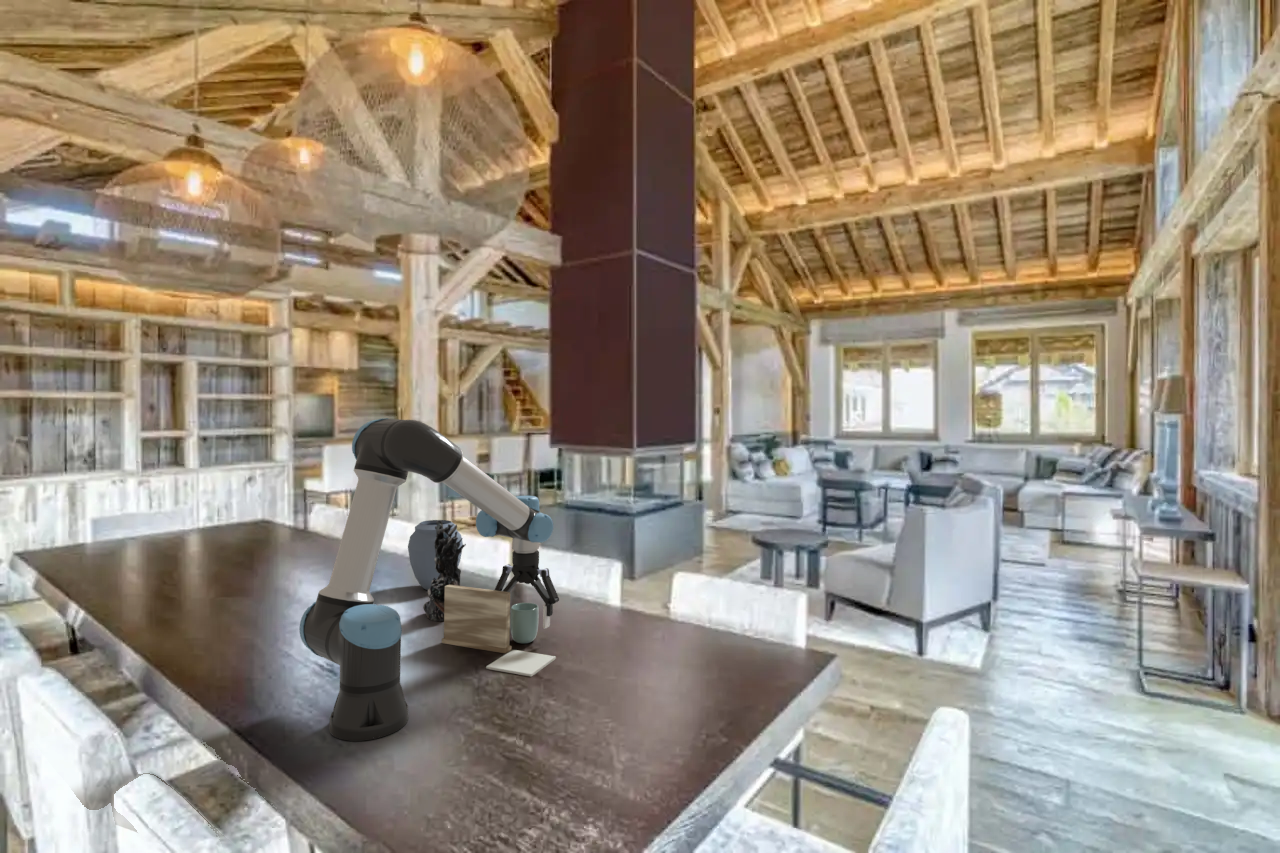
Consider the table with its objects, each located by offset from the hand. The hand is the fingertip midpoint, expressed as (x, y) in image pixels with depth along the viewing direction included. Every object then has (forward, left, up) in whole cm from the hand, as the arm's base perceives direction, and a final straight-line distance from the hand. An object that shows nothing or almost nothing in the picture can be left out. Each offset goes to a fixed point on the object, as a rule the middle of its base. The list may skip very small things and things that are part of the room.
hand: (525, 624), depth 187 cm
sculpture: (+10, +35, -5) cm, 37 cm away
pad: (-15, -8, -5) cm, 18 cm away
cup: (0, 0, -5) cm, 5 cm away
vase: (+37, +59, -5) cm, 70 cm away
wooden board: (-9, +10, -5) cm, 15 cm away
